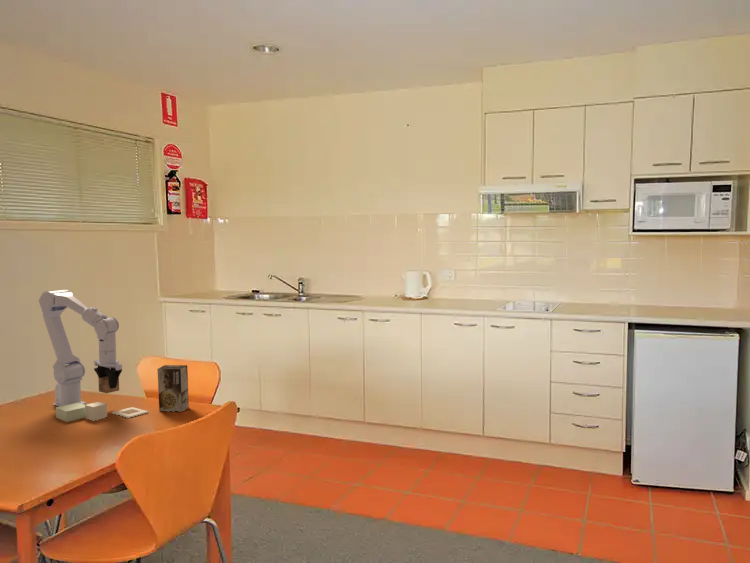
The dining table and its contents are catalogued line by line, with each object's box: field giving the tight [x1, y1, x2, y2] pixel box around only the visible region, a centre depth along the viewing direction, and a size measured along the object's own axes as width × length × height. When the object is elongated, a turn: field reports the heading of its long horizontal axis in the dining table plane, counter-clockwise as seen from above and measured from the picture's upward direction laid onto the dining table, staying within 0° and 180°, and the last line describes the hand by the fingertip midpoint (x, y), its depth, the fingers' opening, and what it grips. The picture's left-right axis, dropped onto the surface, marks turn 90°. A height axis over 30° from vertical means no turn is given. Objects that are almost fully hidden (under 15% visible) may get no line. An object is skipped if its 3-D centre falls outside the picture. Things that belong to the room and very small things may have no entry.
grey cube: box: [84, 401, 108, 422], centre depth 209 cm, size 5×5×5 cm
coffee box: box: [157, 364, 190, 413], centre depth 219 cm, size 9×6×16 cm
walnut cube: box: [98, 376, 120, 394], centre depth 219 cm, size 5×5×5 cm
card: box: [111, 406, 149, 419], centre depth 214 cm, size 10×8×1 cm
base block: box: [55, 403, 86, 423], centre depth 210 cm, size 8×8×4 cm
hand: (108, 386), depth 219 cm, fingers closed on walnut cube, 5 cm apart
